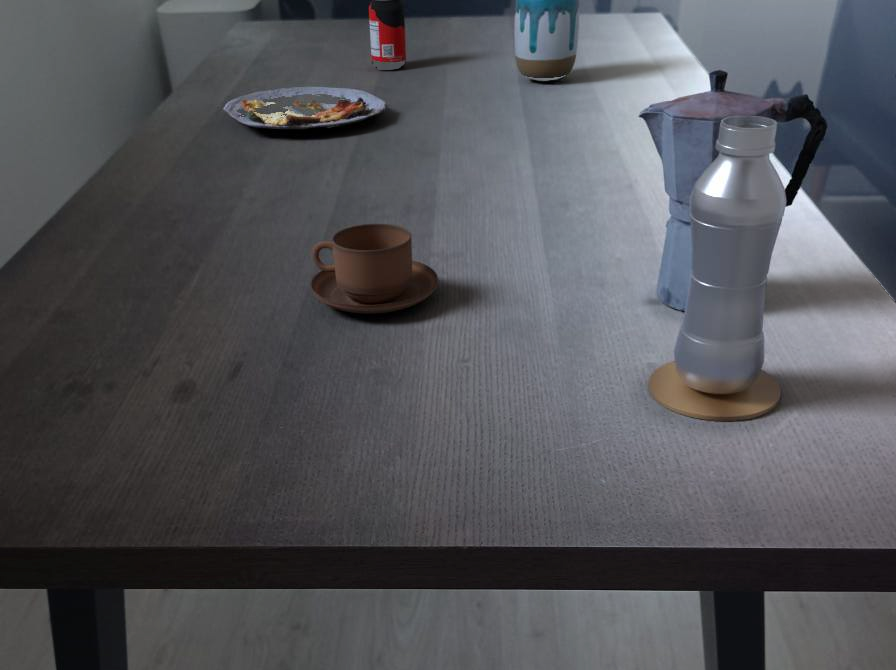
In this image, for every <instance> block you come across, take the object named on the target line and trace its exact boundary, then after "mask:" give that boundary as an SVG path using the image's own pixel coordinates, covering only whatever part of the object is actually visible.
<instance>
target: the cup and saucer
mask: <svg viewBox="0 0 896 670" xmlns="http://www.w3.org/2000/svg"><path fill="white" fill-rule="evenodd" d="M323 249H327V250H331V251H332V253H333V261H334V263H333V264H332V265H330V264H329V265H327V264H325V263H323V262H322V261H321V260H322V259H321V258H320V252H321V251H322V250H323ZM311 253H312V254H311V257H312V260H313V263H314V265H315V266H316V267H317V268H318V269H319V270H320V271H319V272H317V273H316V274H315V275H314V277H312V279H311V282H310V288H311V291H312V293H313V295H314V296H315V298H316V299H318V300H319V301H320V302H322V303H323V304H325V305H326V306H328V307H330V308H333V309H336V310H339V311H342V312H347V313H351V314H353V313H354V314H366V315H367V314H368V315H369V314H385V313H391V312H397V311H400V310H401V311H402V310H405V309H408V308H410V307H413V306H415V305H417V304H419V303H421V302H424V300H426V299H427V298H428V297H429V296H430V295H431V294H432V293H433V292H434V291H435V290H436V288H437V287H438V281H439V277H438V274H437V272H436V271H435V269H433V268H432V267H430V266H429V265H427V264H424V263H422V262H419V261H416V260H413V243H412V233H411V232H410V230H409V229H407V228H406V227H403V226H400V225H396V224H390V223H365V224H364V223H363V224H357V225H353V226H349V227H346V228H343V229H341V230H339V231H337V232H335V233H334V235H333V236H332V238H331V241H330V240H329V241H328V240H324V241H323V240H322V241H319V242H318V243H316V244H315V245H314V247H313V248H312V252H311Z"/></svg>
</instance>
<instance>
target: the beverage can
mask: <svg viewBox="0 0 896 670" xmlns="http://www.w3.org/2000/svg"><path fill="white" fill-rule="evenodd" d="M368 19H369V21H368V22H369V36H370V38H369V39H370V57H371V61H372V60H375V61H380V62H400V61H404V60H406V61H407V48H406V47H407V45H406V43H407V42H406V23H405V21H406V20H405V19H406V18H405V6H404V3H403V2H402V1H401V0H371V2H370V4H369V6H368Z"/></svg>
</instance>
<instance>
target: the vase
mask: <svg viewBox="0 0 896 670" xmlns="http://www.w3.org/2000/svg"><path fill="white" fill-rule="evenodd" d="M514 7H515V8H514V31H513V32H514V55H515V56H514V57H515V63H516V67H517V69H518V71H519V73H520V74H521V75H522V76H523V75H524V76H527V77H533V78H554V77H561V76H564V75H566V76H568V75H569V74H570V73H571V72H572V70H573V68H574V66H575V63H576V59H577V53H578V45H579V33H580V31H579V30H580V0H515V6H514ZM567 74H568V75H567ZM524 76H523V77H524ZM553 81H555V80H553ZM553 81H552V82H553ZM541 82H543V83H544V82H548V81H541Z"/></svg>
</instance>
